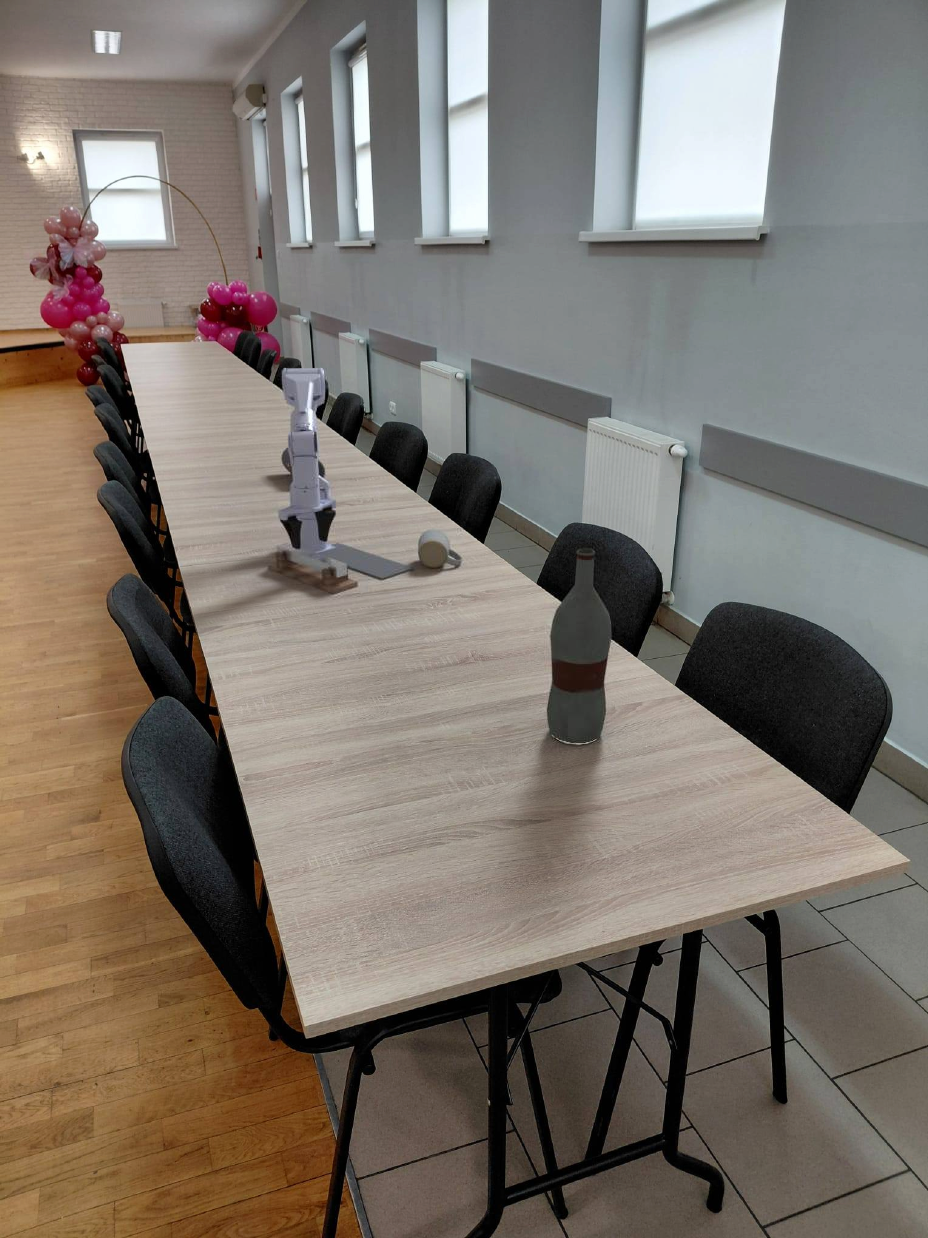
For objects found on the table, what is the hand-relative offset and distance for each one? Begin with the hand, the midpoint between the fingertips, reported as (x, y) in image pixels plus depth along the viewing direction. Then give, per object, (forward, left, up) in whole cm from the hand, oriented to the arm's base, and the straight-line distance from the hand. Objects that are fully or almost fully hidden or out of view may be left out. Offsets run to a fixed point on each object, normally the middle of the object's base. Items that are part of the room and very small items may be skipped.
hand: (310, 544), depth 204 cm
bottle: (+87, -16, -8) cm, 89 cm away
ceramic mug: (+14, +27, -8) cm, 32 cm away
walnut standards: (0, 0, -8) cm, 8 cm away
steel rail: (0, 0, -5) cm, 5 cm away
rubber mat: (-1, +15, -8) cm, 17 cm away
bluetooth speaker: (-75, +55, -8) cm, 93 cm away
